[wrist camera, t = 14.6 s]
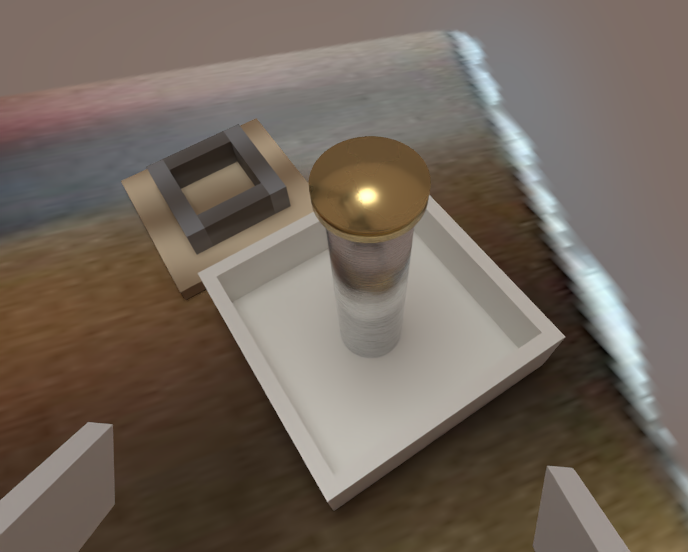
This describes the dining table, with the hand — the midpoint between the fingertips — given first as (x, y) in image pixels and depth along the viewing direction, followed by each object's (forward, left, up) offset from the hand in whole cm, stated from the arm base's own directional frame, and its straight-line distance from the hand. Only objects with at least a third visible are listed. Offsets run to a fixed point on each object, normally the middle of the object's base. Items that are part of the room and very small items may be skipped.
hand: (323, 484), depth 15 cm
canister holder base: (-22, +4, -12) cm, 25 cm away
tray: (-8, +7, -12) cm, 15 cm away
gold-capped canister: (-8, +7, -11) cm, 15 cm away
